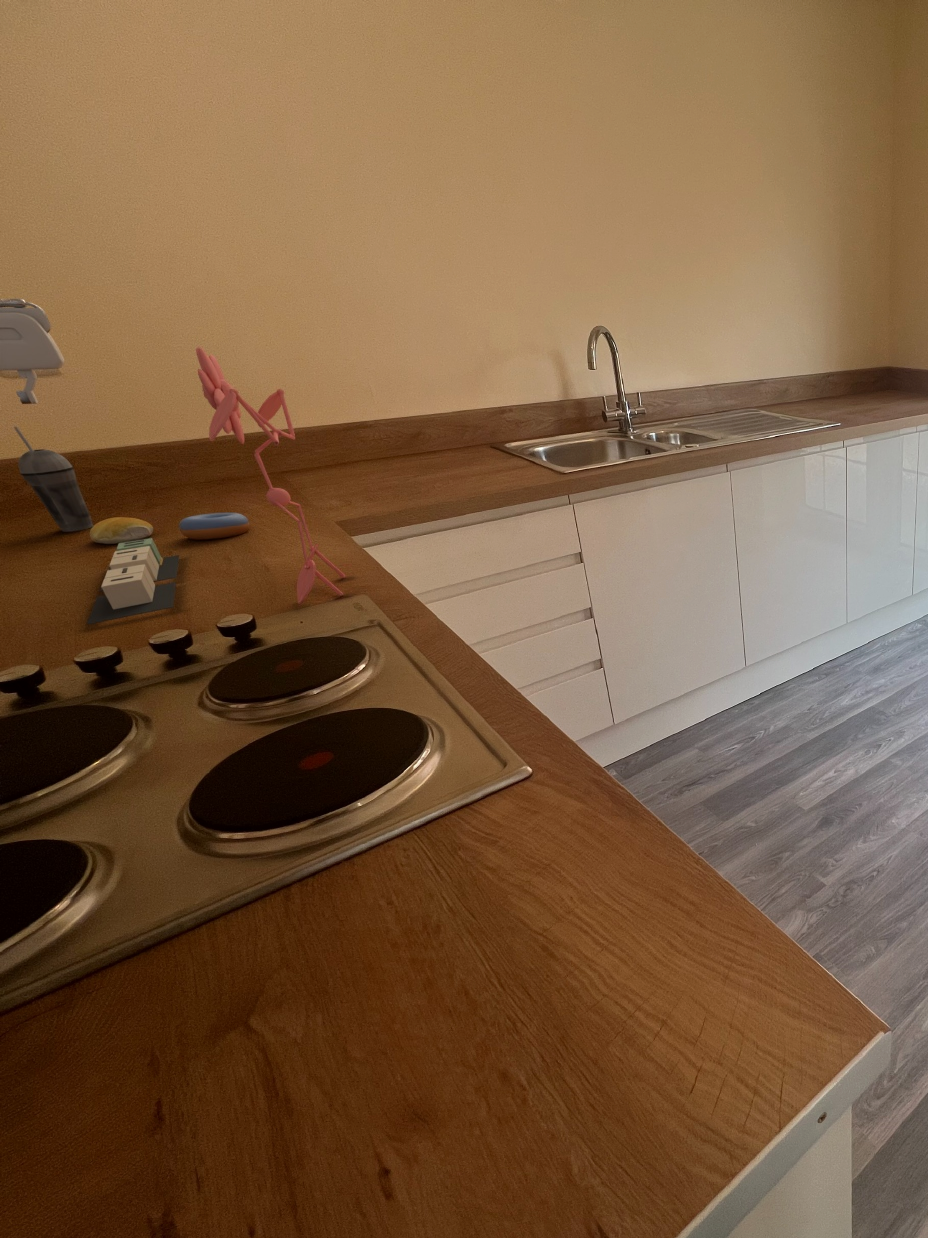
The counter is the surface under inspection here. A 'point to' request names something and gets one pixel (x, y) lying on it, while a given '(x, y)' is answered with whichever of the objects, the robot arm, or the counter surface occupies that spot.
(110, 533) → the bread roll
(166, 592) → the mats
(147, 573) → the white slotted cube
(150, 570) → the slotted cream cube
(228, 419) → the figurine
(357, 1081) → the counter surface
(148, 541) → the slotted green block
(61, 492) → the beverage cup
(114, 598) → the white slotted box
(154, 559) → the off-white marked cube
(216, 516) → the doughnut
